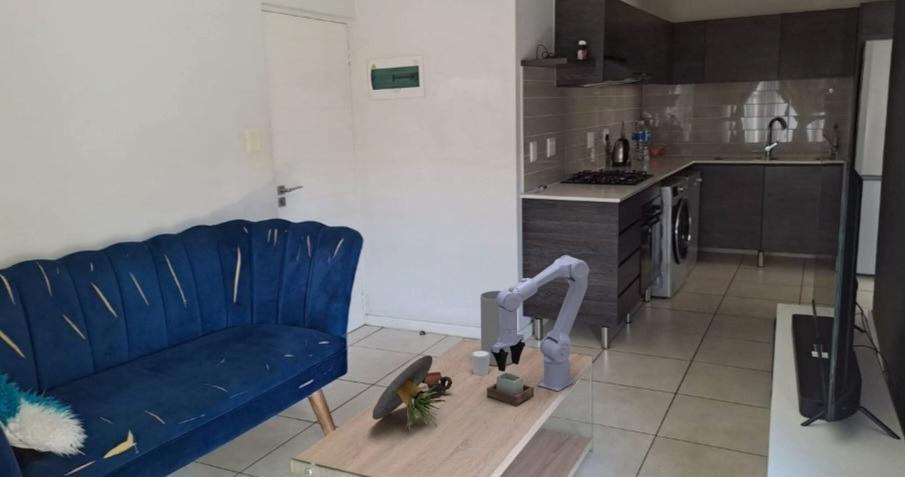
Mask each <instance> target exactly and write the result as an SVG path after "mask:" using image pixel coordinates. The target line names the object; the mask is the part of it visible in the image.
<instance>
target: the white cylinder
mask: <svg viewBox="0 0 905 477" xmlns="http://www.w3.org/2000/svg"><path fill="white" fill-rule="evenodd" d="M470 358H471V366H472V367H471V368H472V374H474V375H477V376H485V375H486V376H487V375H488V374H489V371H490V365H489V361H490V353H489V352H487V351H481V350H475V351H472V352H470Z"/></svg>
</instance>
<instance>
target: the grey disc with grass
mask: <svg viewBox="0 0 905 477" xmlns="http://www.w3.org/2000/svg"><path fill="white" fill-rule="evenodd" d="M433 361H434V360H433V356H432V355H425V356H422V357H420V358H418V359H417V360H415V361H414V362H412V363H411V364H410V365H409V366H407V367H406V368H405V369H404V370H403V371H402V372H400V373H399V374H398V375H397V376H396V377H395V378H394V379H393V380H392V381H391V382H390V384H389V385H388V386H387V387H386V389H385V390H384V391H383V392H382V394H381V395H380V397H379V398H378V400H377V401H376V402H377V403H376V405H375V406H374V408H373V409H372V416H371V417H372V419H373V420H376V421H377V420H380V419H382V418H385V417H387V416H388V415H391V414H392V413H393V412H394V411H395V410H396V409H398V408H399V407H400V406H401V405H402V404H405V406H406V407H407V409H406V415H407V422H406V425H405V428H404V430H406V429H407V428H408V430H409V431H411V426H413V423H414V419H413V416H414V417H415V418H416V419H418V418H419V417H421V419H422V420H423V421H424V423H425V425H428V422H427V421H426V418H427V419H428V420H429V421H430V422H431V423H433V425H434V426H435V427H438V426H437V424H436V423H435V422H434V420H435V421H437V419H436V418H435V417H434V416H437V414H436V413H434V412H435V410H434V409H436V410H441V407H440V408H439V407H437V406H435V405H432V404H438V403H448V401H447V400H445V399H440V398H439V399H434V398H425V397H428V395H430V394H433V393H437V392H432V393H428V392H430V391H431V390H432V389H434V388H435V387H436V386H437V385H435V386H433V387H432V388H430V389H429V388H428V389H427V390H423V389H422V388H420V385H421V384H422V383H421V382H422V381H423V379H424V378H425V377H426V375H427V374H428V373H430V371H431V367H432V364H433ZM420 383H421V384H420ZM427 393H428V394H427ZM433 408H434V409H433ZM432 411H433V412H432ZM417 412H418V413H417ZM418 414H419V415H418ZM432 414H433V415H432ZM432 418H433V420H432ZM437 422H438V421H437Z"/></svg>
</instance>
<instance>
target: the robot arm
mask: <svg viewBox="0 0 905 477" xmlns="http://www.w3.org/2000/svg"><path fill="white" fill-rule="evenodd" d="M590 270H591V269H590V268H589V266H588V264H587V262H586V261H585V260H582V259H578V258H575V257H572V256H571V255H568V254H565V255H562V256H560V257H559V258H557V259H555V260H554V262H553V263H552V264H550V265H549V266H548V267H546V268H545V269H544V270H542V271H541V272H540V273H538V274H537V275H535V276H534V277H532V278H531V277H526V278H525V277H523V278H521V279H520V281H519V282H517V283H516V284H515V285H511V286H510V287H508V289H502V290H500V291H501V292H500V293H499V294H498V296H497V298H496V303H497V304H498V306H499V333H500V338H497V341H498V342H497V343H496V344H495V345H494V346H493V349H492V350H491V353H492V354H493V356H494V357H495V360H496V362H497V366H496V367H497V368H498V369H497V370H498V371H499V372H503V373H505V371H506V367H507V365H506V359H507V356H508V354H509V353H508V352H505V351H504V348H506V347H508V346H509V347H510V350H511V359H512V363H511V364H514V365H516V366H518V365H519V363H520V359H521V356H522V353H523V350H524V348H525V346H526V342H523V341H524V340H525V339H524V334H521V333H518V309H519V308H520V306H521V303H523V302H524V301H526V300H527V299H529V298H531V297H532V296H533V295H535V294H537V292H538V288H540V287H541V286H543V285H545V284H548V283H549V282H551V281H552V280H555V279H556V278H565V279H566V281H567V283H568V285H569V287H568V290H567V293H566V296H565V298H564V300H563V303H562V306H561V308H560V311H559V313H558V316H557V319H556V320H555V321H556V322H555V323H554V326H553V329H551V330H550V331H548V332H547V333H546V336H545V337H544V339H542V340H541V342H540V345H539V350H540V352H541V353H542V354H543V381H541V382H540V383H538V386H539V387H542V388H546V389H548V390H552V391H556V392H560V391H561V390H563V389H565V388H566V387H569V385H571V384H573V380H572V379H571V374H572V373H571V372H572V368H571V362H570V359H569V358H570V353H571V350H570V348H571V346H572V342H571V340H570V334H571V330H572V328H573V325H574V322H575V320H576V318H577V315H578V312H579V310H580V307H581V305H582V301H583V299H584V297H585V294H586V291H587V289H588V285H589V284H588V281H589V280H588V276H589V273H590Z"/></svg>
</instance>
